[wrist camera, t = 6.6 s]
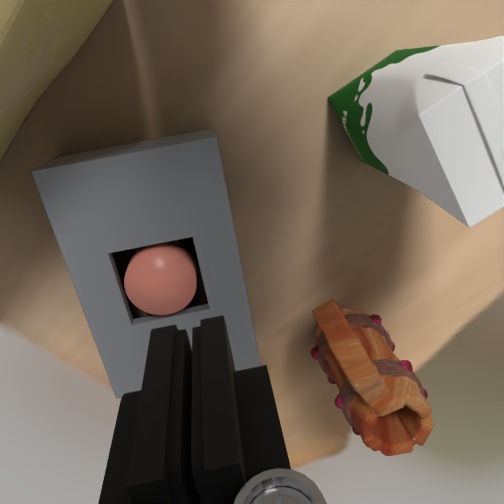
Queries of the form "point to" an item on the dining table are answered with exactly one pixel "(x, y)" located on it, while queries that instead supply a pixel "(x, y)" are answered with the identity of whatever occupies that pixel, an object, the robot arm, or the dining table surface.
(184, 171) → the box
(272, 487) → the robot arm
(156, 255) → the call button
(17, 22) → the cheese
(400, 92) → the milk carton
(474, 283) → the dining table surface
